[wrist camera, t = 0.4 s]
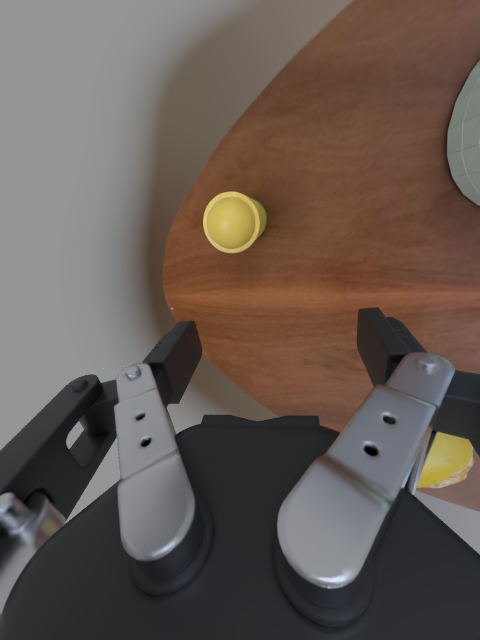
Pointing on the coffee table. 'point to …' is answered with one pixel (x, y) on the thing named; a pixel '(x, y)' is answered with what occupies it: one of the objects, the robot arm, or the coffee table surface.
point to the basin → (466, 138)
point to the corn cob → (234, 221)
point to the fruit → (446, 462)
